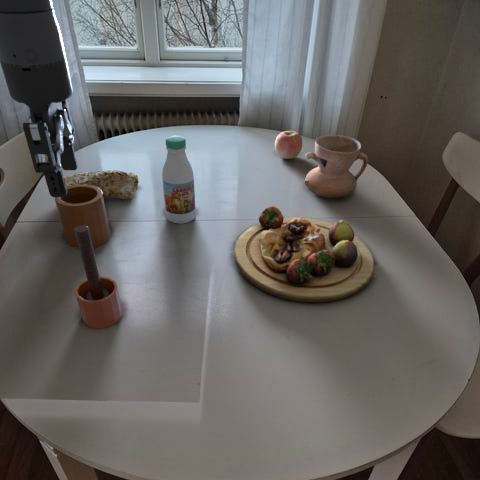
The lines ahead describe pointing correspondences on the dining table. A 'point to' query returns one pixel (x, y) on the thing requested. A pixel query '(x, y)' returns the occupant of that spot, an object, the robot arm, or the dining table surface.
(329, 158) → the ceramic jug
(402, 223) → the dining table surface
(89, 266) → the brush
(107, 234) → the jar
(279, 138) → the apple
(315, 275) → the wooden plate
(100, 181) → the seeded bread loaf
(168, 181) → the milk bottle
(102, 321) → the cup
